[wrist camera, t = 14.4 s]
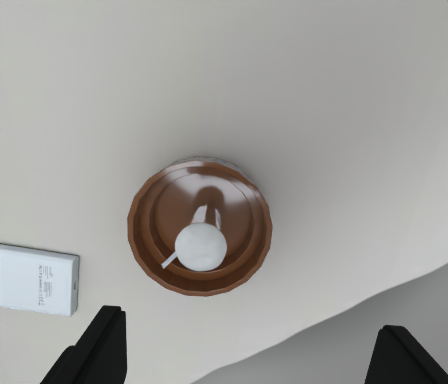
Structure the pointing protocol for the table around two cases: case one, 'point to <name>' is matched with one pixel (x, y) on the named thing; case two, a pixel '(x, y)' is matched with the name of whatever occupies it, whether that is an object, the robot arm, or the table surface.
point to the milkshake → (201, 241)
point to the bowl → (181, 213)
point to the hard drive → (38, 280)
